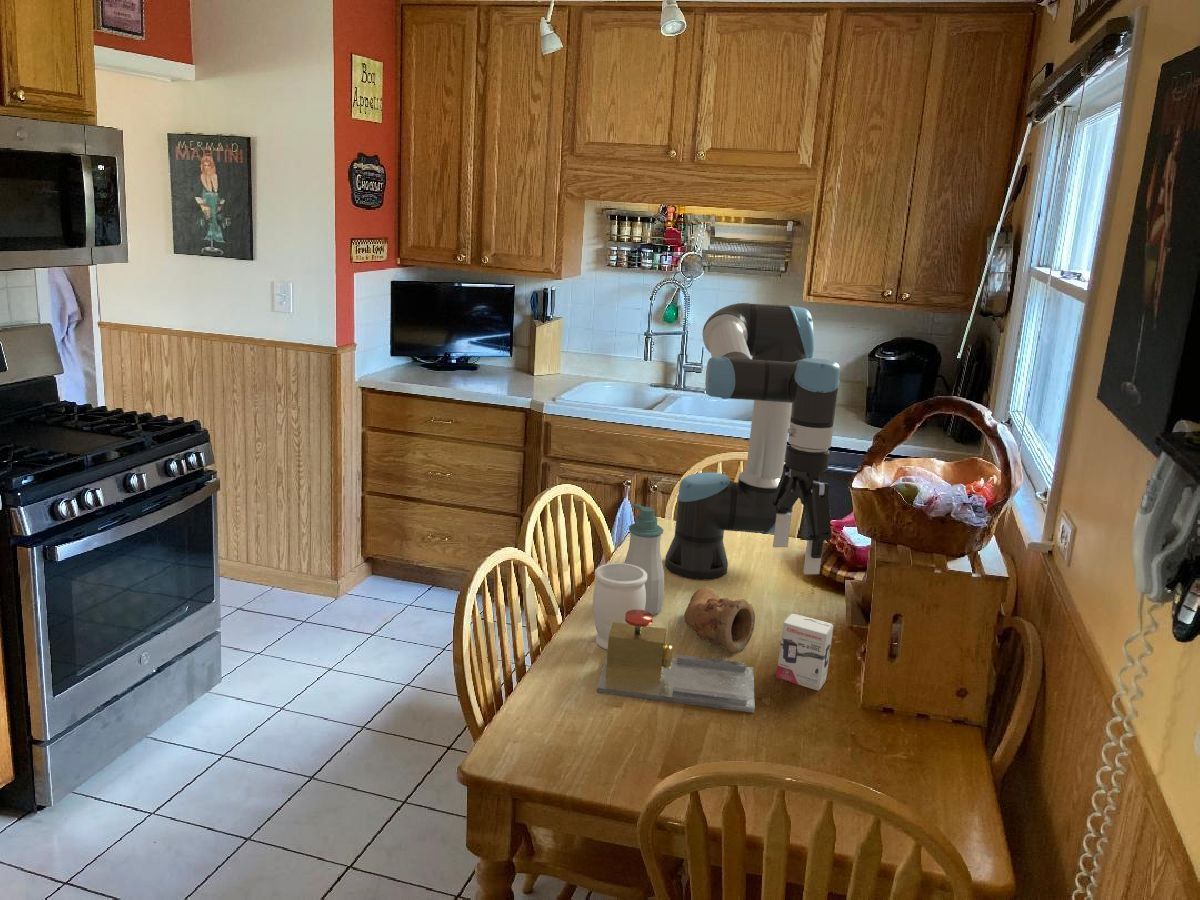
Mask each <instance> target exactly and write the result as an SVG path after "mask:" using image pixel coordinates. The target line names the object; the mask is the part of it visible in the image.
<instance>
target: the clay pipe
mask: <svg viewBox="0 0 1200 900" xmlns="http://www.w3.org/2000/svg"><path fill="white" fill-rule="evenodd" d="M683 619H684V620H683V621H684V623H685V624H686V626H688V627H689V628H690V629H691V630H692V631H693V632H695V634H696V636H697V637H698V638H700V639H703V640H704V641H708V643H710V644H712V645H714V646H718V647H719V646H721V647H722V648H723V649H724V650H726V651H727V652H729V653H732V654H735V653H739V652H742V651H743V650H744V649H745V648H746V646H748V644H749V642H750V640H751V638H752V635H753V633H754V629H755V624H756V613H755V609H754V606H753V605H752V604H751V603H749V602H748V601H747V600H746V599H745V598H743V599H742V598H741V599H735V600H732V599H730V598H728V597H720V595H719V593H717V592H716V591H715V590H714V589H713V588H711V587H700V588H698V589H697V590H696V591H694V593H692V596H691V598H690V600H689V602H688V604H687V607H686V609H685V610H684V614H683Z"/></svg>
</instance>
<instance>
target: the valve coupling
mask: <svg viewBox="0 0 1200 900" xmlns="http://www.w3.org/2000/svg"><path fill="white" fill-rule="evenodd" d="M653 618H654V616H653V615H652V614H651V613H650V612H647V611H644V610H630V611H628V612H626V614H625V621H626V622H627V623H628V624H623V623H615V622H613V623H612V627H611V630H610V633H609V638H608V650H606V651H607V652H606V655H605V658H604V662H603V665H602V669H601V671H600V672H601V673H600V676H599V679H598V681H597V686H596V693H597V694H604V695H605V694H606V695H614V696H619V697H620V696H621V697H629V698H635V699H636V698H637V699H643V700H645V699H646V700H652V701H659V702H666V703H667V702H668V703H674V704H675V703H676V704H683V705H692V706H697V707H698V706H699V707H706V708H713V709H721V710H728V711H729V710H730V711H736V712H744V713H745V712H746V713H752V714H754V713H755V709H756V708H755V703H756V702H755V681H754V680H755V679H754V678H755V677H754V675H755V674H754V667H753V666H747V663H746V662H742V661H735V660H734V661H731V660H725V659H717V658H710V657H709V658H707V657H699V656H692V655H683V654H677V657H673V651H674V644H672V643H666V633H667V628H666V627H664V628H663V627H654V626H650V625H652V623H653V620H654V619H653Z"/></svg>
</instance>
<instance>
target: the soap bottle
mask: <svg viewBox="0 0 1200 900" xmlns="http://www.w3.org/2000/svg"><path fill="white" fill-rule="evenodd" d="M632 508H634V509H637V510H639V511H640V513H639V515H637V516H636V518H635V523H633V524H630V525H629V527H628V530H629V533H630V534H629V543H628V549H627V553H626V556H625V559H624V562H623V563H625V564H631V565H635V566H638V567H640V568H642V569H644V570H645V571H646V572H647V574H648V576H647V581H646V582H645V583H644V584H645V590H646V604H645V610H644V611H647V612H650V613H651V614H652V615H653V617H654V616H656V615H658V614H659V613H660V612H661V611H662V608H663V606H664V593H665V572H664V567H663V561H662V555H661V538H662V537H661V536H662V534H663V533H664V529H663V527H662V526H660V525H659V524H658V517H657V516H655V508H653V507H651V506H643V505H641V504H638V503H633V504H632Z"/></svg>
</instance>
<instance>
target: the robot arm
mask: <svg viewBox="0 0 1200 900" xmlns="http://www.w3.org/2000/svg"><path fill="white" fill-rule="evenodd" d="M814 332H815V330H814V323H813V317H812V315H811V312H810V311H809V310H808V309H807V308H805V307H800V306H793V305H785V304H766V303H750V302H740V303H739V302H737V303H733V304H729V305H727V306H724V307H722V308H720V309H718V310H717V311H715V312H714V313H713V314H711V315H710V316H709V317H708V319H707V320H706V321H705V323H704V325H703V328H702V341H703V344H704V346H705V348H706V350H707V352H708V353H710V355H711V357H710V358H708V360H707V364H706V370H705V384H704V386H705V393H706V395H707V396H709V397H713V398H720V399H723V400H729V399H730V400H744V401H745V400H747V401H753V405H752V406H753V409H752V415H751V424H750V433H749V434H750V435H749V443H748V450H747V461H746V468H745V469H744V470H742V471H741V472H740V473H739V475H738V479H737V480H738V481H737V482H736V481H731V480H730V478H729V476H728V475H727V474H724V473H718V472H707V471H706V472H696V473H693V474H690V475H688V476H685V477H684V478H683V479H682V480H681V481H680V483H679V487H678V494H677V497H676V500H677V509H676V517H675V526H674V527H675V529H674V536H673V538H672V540H671V543H670V545H669V547H668V550H667V551H666V554H665V559H664V567H665V569H666V570H667V571H668V572H669V573H671V574H673V575H674V576H678V577H681V578H685V579H689V580H698V581H709V580H711V581H712V580H716V579H719V578H723V577H724V576H725V575H727V573H728V566H729V564H728V563H729V562H728V558H727V553H726V548H725V544H724V533H725V531H726V532H727V531H728V532H742V533H752V534H753V533H754V534H763V535H767V534H771V535H772V534H773V542H772V547H773V548H788V547H789V540H790V539H789V538H790V530H791V525H792V524H791V523H792V522H791V521H792V513H793V506H794V505H795V503H796V502H797V501H798V499H799V500H800V503H801V504H802V505H803V507H804V511H805V517H806V521H807V527H808V531H809V535H808V536H807V537H806V547H805V556H804V563H803V569H802V570H803V572H802V573H803V574H804V575H820V569H821V562H822V555H823V548H824V547H823V546H824V541H831V540H832V527H831V524H832V523H831V517H830V516H831V515H830V504H829V489H830V488H829V486H830V485H829V483H828V482H821V481H820V480H821V479H820V477H821V476H820V475H821V474H822V473H825V472H826V471H827V470H828V468H829V463H830V456H831V452H830V450H829V448H831V447H832V442H833V441H832V440H833V434H834V428H835V426H834V422H835V415H836V406H837V399H838V392H839V388H840V385H841V380H840V375H841V374H840V373H841V372H840V371H841V369H840V368H841V366H840V364H839V363H837V362H836V361H834V360H829V359H823V358H813V356H814V349H815V347H814V346H815V333H814ZM787 443H788V444H789V445H788V446H787Z"/></svg>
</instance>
